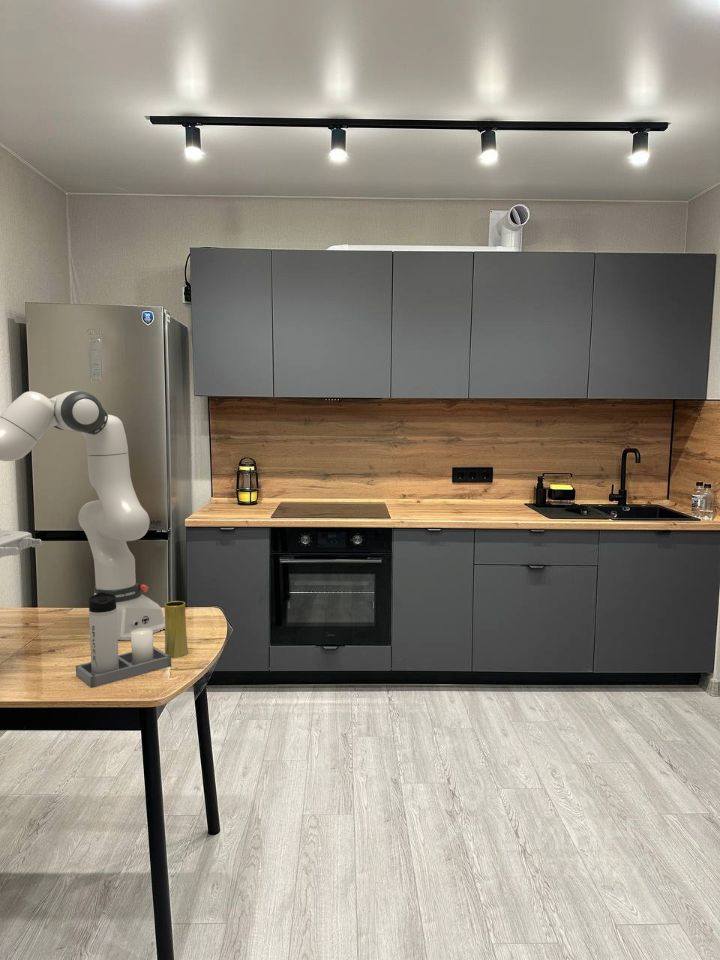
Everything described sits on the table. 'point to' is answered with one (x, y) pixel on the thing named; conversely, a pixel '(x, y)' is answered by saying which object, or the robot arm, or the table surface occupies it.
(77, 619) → the table surface
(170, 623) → the vase
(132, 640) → the white cylinder
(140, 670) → the caddy
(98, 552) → the robot arm
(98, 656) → the travel mug
